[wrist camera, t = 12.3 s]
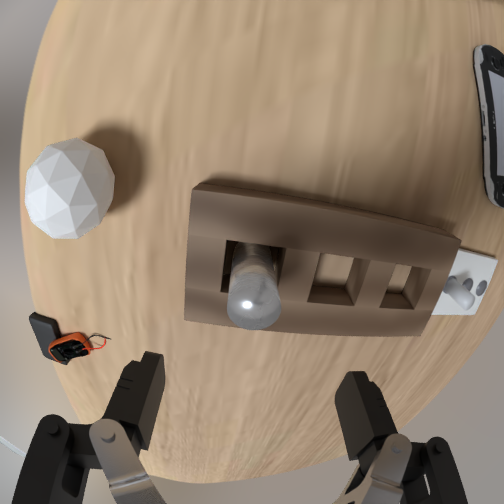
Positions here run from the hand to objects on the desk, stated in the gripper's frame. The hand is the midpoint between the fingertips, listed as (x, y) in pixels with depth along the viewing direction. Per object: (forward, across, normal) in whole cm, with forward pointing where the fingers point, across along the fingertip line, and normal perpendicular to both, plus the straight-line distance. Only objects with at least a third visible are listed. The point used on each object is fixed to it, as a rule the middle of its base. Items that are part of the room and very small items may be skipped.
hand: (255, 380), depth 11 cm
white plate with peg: (+14, -26, 0) cm, 29 cm away
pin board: (+14, -7, 0) cm, 15 cm away
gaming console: (+14, -25, -20) cm, 35 cm away
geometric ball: (+14, +15, -5) cm, 21 cm away
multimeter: (+14, +19, +14) cm, 28 cm away
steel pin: (+14, 0, 0) cm, 14 cm away
